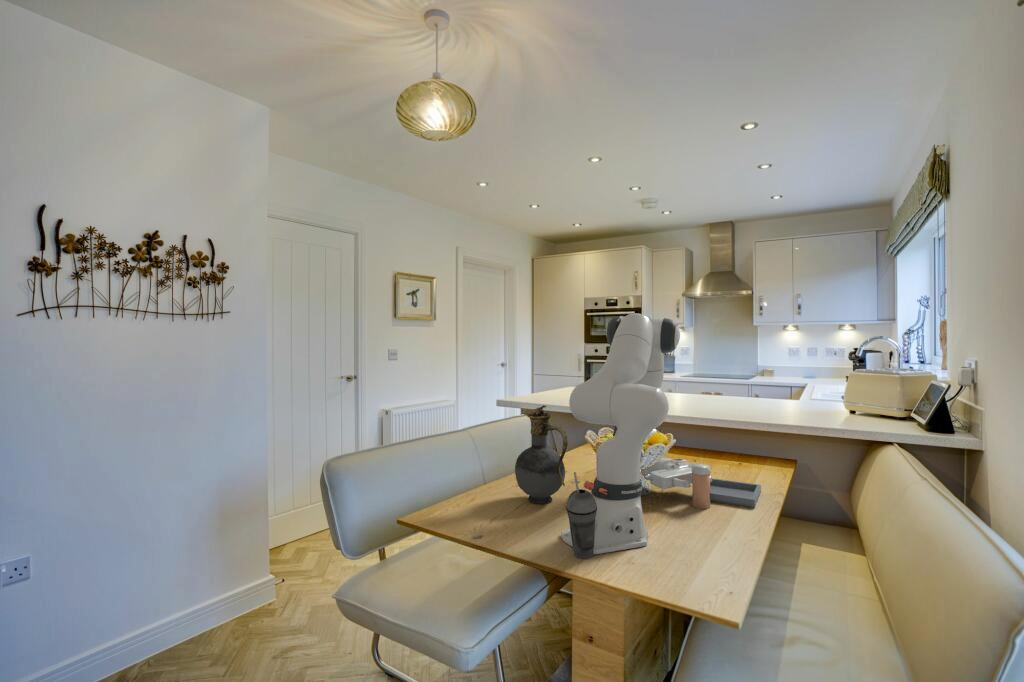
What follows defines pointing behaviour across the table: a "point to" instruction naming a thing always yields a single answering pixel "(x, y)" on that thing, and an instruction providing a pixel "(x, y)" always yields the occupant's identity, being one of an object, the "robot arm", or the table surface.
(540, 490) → the pitcher
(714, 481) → the tray
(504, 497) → the table surface
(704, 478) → the shaker
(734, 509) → the table surface
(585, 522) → the beverage cup
